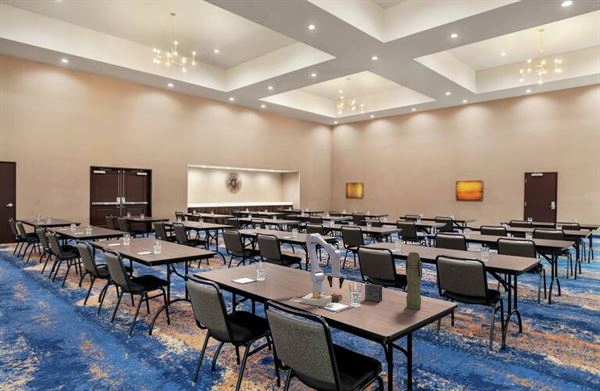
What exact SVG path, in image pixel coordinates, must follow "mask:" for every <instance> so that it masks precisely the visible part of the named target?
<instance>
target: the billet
mask: <svg viewBox="0 0 600 391" xmlns="http://www.w3.org/2000/svg"><path fill="white" fill-rule="evenodd" d="M312 293H313V298H318V299H319V298H320V291H314V292H313V291H312Z"/></svg>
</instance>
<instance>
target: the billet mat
mask: <svg viewBox="0 0 600 391" xmlns="http://www.w3.org/2000/svg"><path fill="white" fill-rule="evenodd" d="M302 298H303V297H296V296H294V297H292V298H289V299H288V301H290V302H295V303H296V302H297V303H302Z"/></svg>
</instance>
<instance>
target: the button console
mask: <svg viewBox="0 0 600 391" xmlns="http://www.w3.org/2000/svg"><path fill="white" fill-rule="evenodd" d="M329 296H332V302H334V303H335V302H336V303H340V302H341V301H342V300H343V294H339V297H334V296H333V293H332V294H330V295H329Z"/></svg>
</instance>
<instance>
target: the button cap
mask: <svg viewBox="0 0 600 391" xmlns="http://www.w3.org/2000/svg"><path fill="white" fill-rule="evenodd" d="M332 294H333V296H334V297H339V295H340V294H339V293H338V292H332Z"/></svg>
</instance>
